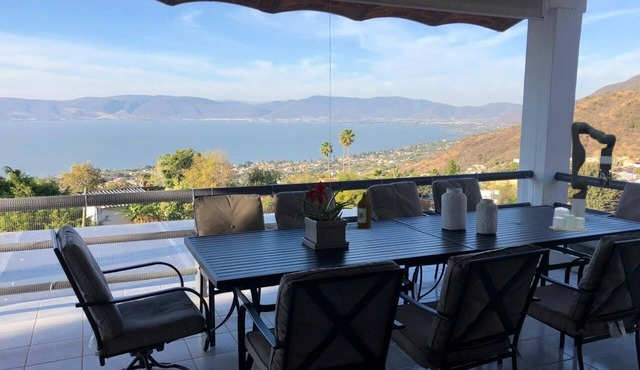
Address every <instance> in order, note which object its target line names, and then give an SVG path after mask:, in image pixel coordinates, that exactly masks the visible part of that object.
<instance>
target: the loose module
mask: <svg viewBox="0 0 640 370" xmlns="http://www.w3.org/2000/svg"><path fill="white" fill-rule="evenodd" d="M563 218H564V228H574V223H575V215H571V214H569V215H567V214H564V217H563Z"/></svg>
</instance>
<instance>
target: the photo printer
mask: <svg viewBox="0 0 640 370" xmlns="http://www.w3.org/2000/svg"><path fill="white" fill-rule="evenodd" d="M564 214H567V215H570V209H568V208H566V207H562V206H561V207H556V208H555V209H554V213H553V217H562V218H563V217H564Z"/></svg>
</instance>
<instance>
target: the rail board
mask: <svg viewBox="0 0 640 370" xmlns="http://www.w3.org/2000/svg"><path fill="white" fill-rule="evenodd" d="M551 227H552V226H549V229H550V228H551ZM552 229H553V228H551V229H550V230H552ZM554 230H555V232H583V231H586V232H589V229H587V228H586V229H553V230H552V231H554Z"/></svg>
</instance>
